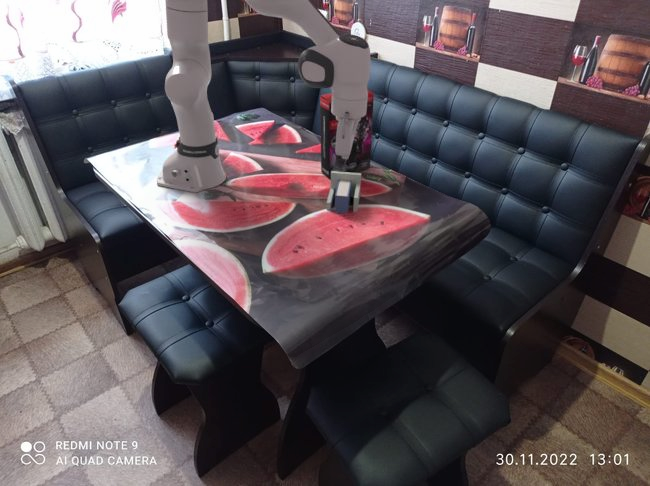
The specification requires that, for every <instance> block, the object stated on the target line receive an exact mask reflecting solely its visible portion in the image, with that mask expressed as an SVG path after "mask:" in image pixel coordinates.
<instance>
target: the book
mask: <svg viewBox="0 0 650 486" xmlns="http://www.w3.org/2000/svg"><path fill="white" fill-rule="evenodd" d="M351 182H352V181H350V180H339V181H338V185H337V190H336V194H335V195H334V213H335V212H338V213H339V214H347V213H348V214H349V208H350V202H351V198H352V197H351Z"/></svg>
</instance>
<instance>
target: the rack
mask: <svg viewBox="0 0 650 486" xmlns="http://www.w3.org/2000/svg"><path fill="white" fill-rule="evenodd" d="M339 180H350V181H352V182H351V198H353V205H352V206H353V209H352V212H353V213H358V209H359V208H358V207H359V203H360V198H361V185H362V173H361V172H353V173H351V172H338V171H331V179H330V188H329V189H330V190H329V193H328V196H327V199H326V210H327V209H328V210H327V211H331V209H332V205H333V202H334V199H335V194H336V190H337V185H338V181H339Z"/></svg>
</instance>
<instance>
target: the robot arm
mask: <svg viewBox="0 0 650 486" xmlns="http://www.w3.org/2000/svg"><path fill="white" fill-rule="evenodd" d="M244 1H245V2H246V4H247V5H248V6H249V7H250V8H251V9H252V10H253V11H255V12H256V13H257V14H259V15H262V16H266V17H274V18H280V19H285V20H288V21H290V22H292V23H294V24H296V25H298V26H299V27H300V28H301V29H302V30H303V32H305V34H306V35H307V36H308V37H309V38H310V39H311V41H312V42H313V43H314V44H315V45H313V46H311V47H308V48H307V49H305V50H303V51H302V52H301V53H300V55H299V58H298V61H297V69H298V74H299V77H300V79H301V80H302V82H303V83H304V84H305V85H307V86H308V87H310V88H314V89H328V88H329V89H330V90H331V93H332V105H331V112H332V114H333V115H335V116H336V120H338V121H339V123H338V127H337V134H336V147H335V152H336V155H340V156H342V159H348V158H349V155H350V152H351V148H352V144H353V140H354V136H355V132H356V129H357V125H358V122H359V121H360V120H361V117H363V116H365V115H366V111H367V99H368V91H367V89H368V83H369V81H370V74H371V49H370V45H369V42H368V41H367V40H366V39H364V38H363V37H361V36H359V35H356V34H349V33H345V34H344V33H343V34H342V33H341V32H339V31H338V30H337V29H336V28H335V27H334V26H333V24H332V23H331V22H330V21H329V20H328V19H327V17H326V16H325V15H324V14H323V12H322V11H321V10H320V9H319V8H318V7H317V6H316V5H315V3H314V2H313V1H312V0H244ZM208 9H209V8H208V0H165V16H166V34H167V35H166V36H167V38H168V40H169V44H170V46H171V53H172V61H173V62H172V67H171V68H170V69H169V71H168V73H167V74H166V76H165V82H164V91H165V92H164V93H165V95H166V97H167V98H168V100H170V101H169V102H170V103H171V107H172V108H173V111H174V114H175V117H176V122H177V127H178V132H179V137H178V139H176V141H175V143H174V145H173V148H174V149H176V150H175V151H174V152H173V153H171V154H170V155H169V156H168V157H167V158H166V159H165V161H163V165H162V170H161V172H160V173H159V174H158V176H157V177H156V184H157V185H158V186H160V187H167V188H169V189H170V188H171V189H176V190H180V191H185V192H189V193H190V192H191V193H199V192H201V191H203V190H207V189H212V188H215V187H217V186H219V185H221V184H223V182H225V181H226V179H227V175H226V173H225V170H224V169H223V166H222V162H221V158H220V144H219V140H218V136H217V135H216V126H215V121H214V118H215V117H214V114H213V112H212V109H211V107H210V103H209V100H208V93H207V91H208V86H209V84H210V83H211V79H212V64H211V63H212V62H211V52H210V51H211V50H210V46H209V45H210V44H209V25H208V22H209V20H208V17H209V14H208V12H209V10H208Z"/></svg>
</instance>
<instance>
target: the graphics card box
mask: <svg viewBox="0 0 650 486" xmlns="http://www.w3.org/2000/svg"><path fill="white" fill-rule="evenodd" d="M367 91H368V99H367V111H366V115H365V116H363V117H361V120H360V121H359V122H358V125H357V129H356V132H355V136H354V140H353V144H352V148H351V152H350V155H349V158H348V159H342V156H340V155H336V152H335V147H336V134H337V127H338V123H339V121H338V120H336V116H335V115H333V114H332V112H331V105H332V92H331V93H327V94H321V95H320V97H319V102H320V103H319V105H320V107H319V108H320V109H319V110H320V111H319V112H320V115H319V116H320V170H321V171H320V172H321V174H323V175H325V176H326V177H327V178H328V179H329V180H331V171H338V172H351V173H358V172H360V171H364V170H367V169H371V162H372V161H371V157H372V136H373V134H372V133H373V117H374V116H373V113H374V100H375V98H374V97H375V94H374V93H373V91H371V90H369V88H367Z"/></svg>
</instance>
